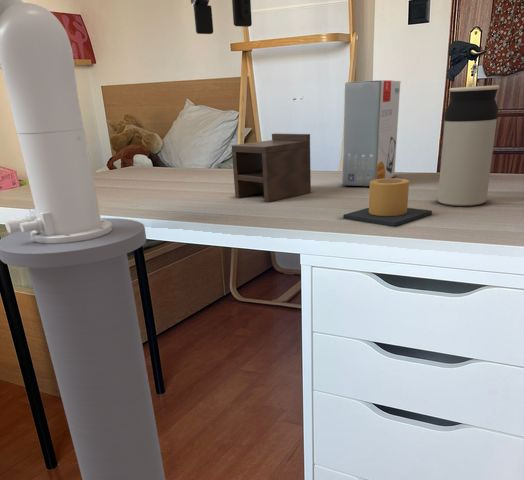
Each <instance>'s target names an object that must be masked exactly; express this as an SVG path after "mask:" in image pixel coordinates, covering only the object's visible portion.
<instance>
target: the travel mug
mask: <svg viewBox="0 0 524 480" xmlns="http://www.w3.org/2000/svg"><path fill="white" fill-rule="evenodd" d="M499 89H500V85H498V84H497V85H478V86H462V87H449V89H448V91H449V93H450V102H449V104H448V106H447V108H446V109H445V113H444V123H443V136H442V146H441V157H440V171H439V181H438V191H437V202H439V203H440V204H442V205H445V206H451V207H473V206H479V205H482V204H484V203H486V202H487V199H488V193H489V183H490V176H491V170H492V169H491V168H492V162H493V161H492V160H493V153H494V145H495V138H496V130H497V122H498V115H499V114H498V113H499V107H498V104H497V101H496V95H497V92H498V90H499Z"/></svg>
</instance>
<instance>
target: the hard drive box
mask: <svg viewBox="0 0 524 480" xmlns="http://www.w3.org/2000/svg"><path fill="white" fill-rule="evenodd" d="M400 93H401V81H400V80H391V79H390V80H383V79H381V80H363V81H362V80H361V81H348V82H347V81H346V82H345V83H344V99H343V100H344V102H343V130H342V131H343V132H342V165H341V166H342V167H341V186H358V187H370V181H372V180H376V179H386V178H394V177H395V173H396V155H397V142H398V141H397V139H398V123H399V110H400Z"/></svg>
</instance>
